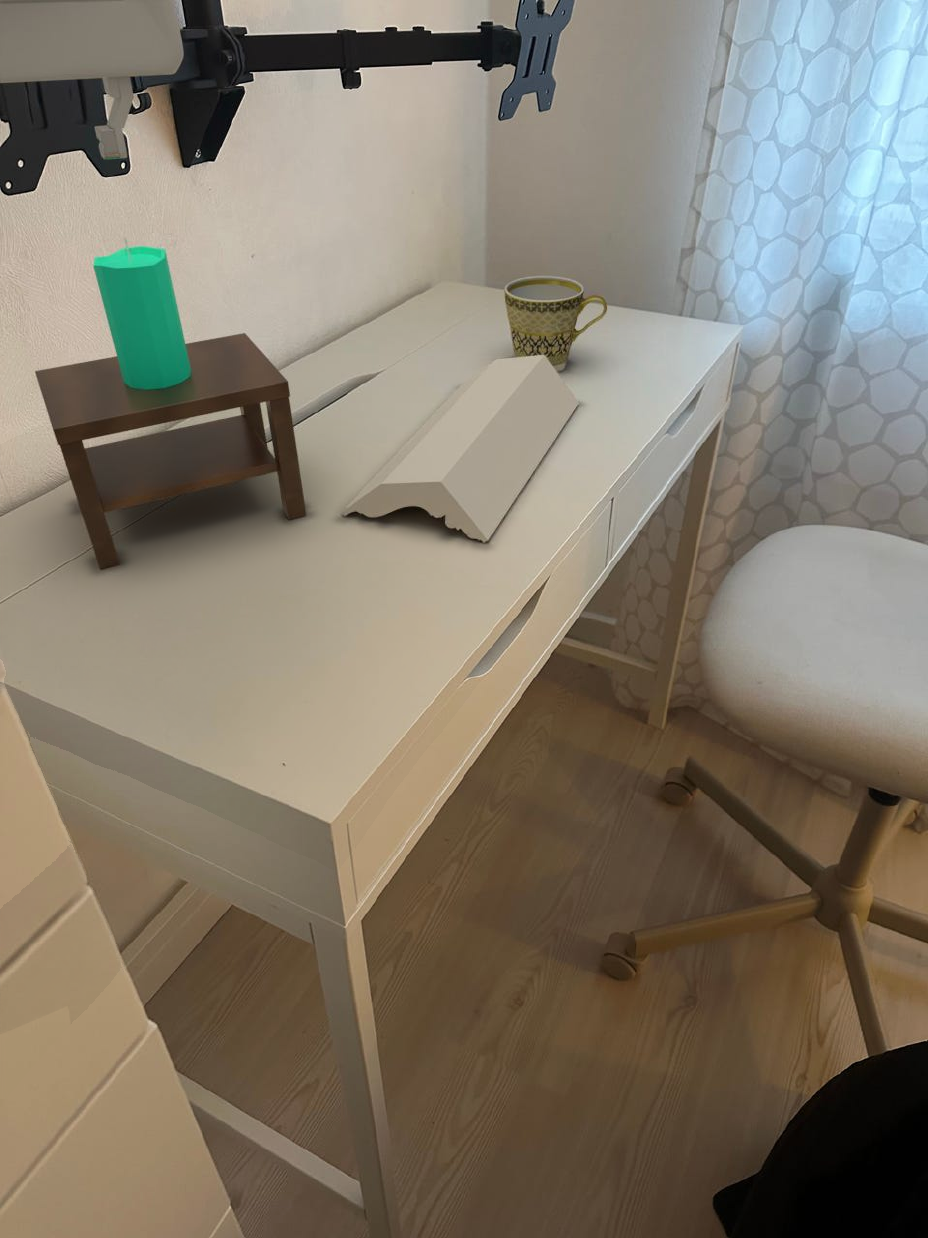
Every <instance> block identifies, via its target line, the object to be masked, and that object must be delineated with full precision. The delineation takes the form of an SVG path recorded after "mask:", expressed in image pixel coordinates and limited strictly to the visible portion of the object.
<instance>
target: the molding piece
mask: <svg viewBox="0 0 928 1238" xmlns="http://www.w3.org/2000/svg"><path fill="white" fill-rule="evenodd" d="M579 404H580V402H579V400H578V399H577V397H576V396H575V395H574V393H573V392H572V390H571V389H570V388H569V386H568V385H567V384H566V382H565V381H564V380H563V378H562V377H561V375H560V374H559V372H557V371H556V370H555V369H554V367H553V366H552V365H551V363H550V362H549V360H548V359H547V358H546V356H545V355H536V356H526V357H516V358H515V357H507V358H506V357H505V358H498V359H496V358H495V359H494V360H493V361H491V362H490V363H489V364H488V365H486V366H485V367H483V368H482V369H481V370H480V371H478V372H477V373H475V374H474V375H473V376H471V377H470V378H469V379H468V380H466V381H465V382H463V383H462V384H461V385H459V387H457V389H456V390H455V391H454V392H453V393H452V394H451V395H450V396H449V397H448V398H447V399H446V400H445V401H444V403H443V404H442V405H441V406H439V407H438V409H437V410H436V411H435V412H434V413H433V414H432V416H430V417H429V418H428V420H426V421H425V422H424V424H423V425H422V426H421V427H420V428H419V429H418V430H417V431H416V432H415V433H414V434H413V435H412V436H411V438H409V439H408V440H407V442H406V443H405V444H404V445H403V446H402V447H401V448H400V449H399V450H398V451H397V452H396V453H395V454H394V455H393V456H392V457H391V459H390V460H389V461H388V462H387V463H386V464H385V465H384V466H383V467H382V468H381V469H380V470H379V472H377V474H376V475H374V477H373V478H372V479H371V480H370V481H369V482H368V483H366V485H365V486H364V487H363V488H362V489H361V490H360V491H359V493H357V494H356V495H355V497H354V498H353V499H352V500H351V501H350V502H349V503H348V504H347V505H346V507H344V509H342V510H341V514H342V515H343V516H344V517H346V516H348V515H349V514H351V513H354V512H357V513H359V514H360V515H362V514H363V515H364V516H366V517H367V518H379V517H383V516H385V515H388V514H389V513H392V512H394V511H397V510H400V509H402V508H406V507H407V508H408V507H419V508H420V509H423V510H425V511H426V512H427V513H428V514H429V515H430V516H431V517H432V516H433V517H434V518H436V519H438V518H440V519H441V518H442V517H444V524H445V526H446V527H447V528H449V529H456V530H457V531H460V530H461V531H462V532H463V533H464V534H465V535H466V536H467V537H468V538H470V539H473V540H474V539H476V540H478V541H482V543H483V544H484V543H486V542H488V541H489V540H490V539H491V537H492V535H493V534H494V532H495V531H496V529H497V528H498V526H499V525H500V523H501V521H502V520H503V519H504V517H505V516H506V514H507V513H508V511H509V509H510V508H511V506H512V505H513V504H514V502H515V501H516V499H517V497H518V496H519V494H520V493H521V492H522V490H523V488H524V487H525V486H526V484H527V483H528V481H529V479H530V478H531V476H532V475H533V473H534V472H535V470H536V469H537V468H538V466H539V464H540V463H541V461H542V460H543V458H544V457H545V455H546V453H547V452H548V451H549V449H550V447H551V446H552V444H553V443H554V441H555V440H556V439H557V437H558V436H559V435H560V432H561V431H562V430H563V428H564V427H565V425H566V424H567V422H568V421H569V419H570V418H571V416H572V414H573V413H574V411H575V410H576V408H577V407H578V405H579Z"/></svg>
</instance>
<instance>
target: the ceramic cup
mask: <svg viewBox="0 0 928 1238" xmlns="http://www.w3.org/2000/svg"><path fill="white" fill-rule="evenodd" d="M503 289H504V303H505V308H506V314H507V319H508V323H509V329H510V336H511V341H512V342H511V343H512V349H513V355H514V357H513V358H516V357H526V356H536V355H545V356H546V358H547V359H548V360H549V362H550V363H551V365H552V366H553V367H554V369H555V370H556V371H557V373H559V372H562V371H565V368H566V366H567V364H568V360H569V355H570V351H571V347H572V345H573V343H574V342H575V341H576V340H577V338H578V337H579V336H580V335H582V334H583V333H584V332H585V331H586V330H587V329H588V328H590V327H591V326H592V325H594V324H595V323H596V322H598V321H600V320H602V319H603V317H604V316H605V315H606V314H607V311H608V305H607V302H606V300H605V299H604V297H602V296H600V295H597V294H594V295H589V296H587V297H585V298H584V293H585V286H584V285H583V284H581V282H578V281H577V280H574V279H571V278H568V277H562V276H555V275H535V276H526V277H521V278H517V279H514V280H512V281H509V282H508V283H507V284H506V285H505V287H504V288H503ZM593 302H599V303H601V304H602V306H603V311H602V313H601V314H599V316H597V317H596V318H593V319H592V320H590V321H589V322H587V324H586V325H584V327H582V329H579V330H577V329H576V325H577V321H578V318H579V316H580V314H581V313H582V312H583V311H584V309H585V307H586V306H588V305H589V304H590V303H593Z"/></svg>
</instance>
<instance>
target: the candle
mask: <svg viewBox="0 0 928 1238" xmlns="http://www.w3.org/2000/svg"><path fill="white" fill-rule="evenodd" d="M123 239H124V244H125V247H123V248H121V249H119V250H118V251H115V252H113V253H111V254H109V255H106V256H104V255H103V256H95V257H94V258H93V259H94V260H93V266H92V267H93V270H94V274H95V277H96V282H97V286H98V289H99V293H100V297H101V300H102V301H101V302H102V304H103V308H104V312H105V316H106V319H107V324H108V327H109V331H110V335H111V338H112V342H113V346H114V350H115V354H116V356H117V358H118V361H119V365H120V369H121V373H122V376H123V380H124V383H125V384H127V385H128V386H130V387H131V388H138V389H145V390H148V389H159V388H166V387H169V386H173V385H176V384H179V383H182V382H183V381H184V380H186V379H187V378H189V377H190V374H191V368H190V363H189V359H188V354H187V349H186V345H185V344H186V340H185V336H184V332H183V331H184V330H183V326H182V322H181V318H180V312H179V307H178V303H177V298H176V293H175V290H174V284H173V279H172V276H171V270H170V265H169V262H168V261H169V260H168V256H167V251H166V249H165V248H159V247H153V246H147V245H146V246H145V245H139V246H129V245H128V241H127V237H125V236H124V237H123Z"/></svg>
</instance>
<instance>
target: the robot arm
mask: <svg viewBox="0 0 928 1238" xmlns="http://www.w3.org/2000/svg"><path fill="white" fill-rule="evenodd" d="M183 59H184V45H183V40H182V35H181V29H180V25H179V21H178V16H177V11H176V8H175V4H174V0H0V84H5V83H6V84H7V83H8V84H9V83H26V82H27V83H28V82H29V83H30V82H47V81H67V80H68V81H69V80H88V79H89V80H91V79H101V80H102V82H103V87H104V91H105V93H106V95H108V96H110V98H113V101H112V104H111V109H110V112H109V115H108V119H107V122H106V125H97V126H94V132H95V136H96V139H97V140H98V141H99V143H98V149H99V154H100V156H101V158H102V159H103V160H116V159H127V158H128V151H127V146H126V142H125V137H124V131H123V129H125V126H126V123H127V120H128V118H129V113H130V111H131V108H132V104H133V102H134V98H135V97H134V91H133V87H132V81H131V77H147V76H164V75H165V76H168V75H174V74H176V73H177V71H178V70H179V68H180V66H181V64H182V61H183Z"/></svg>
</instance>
